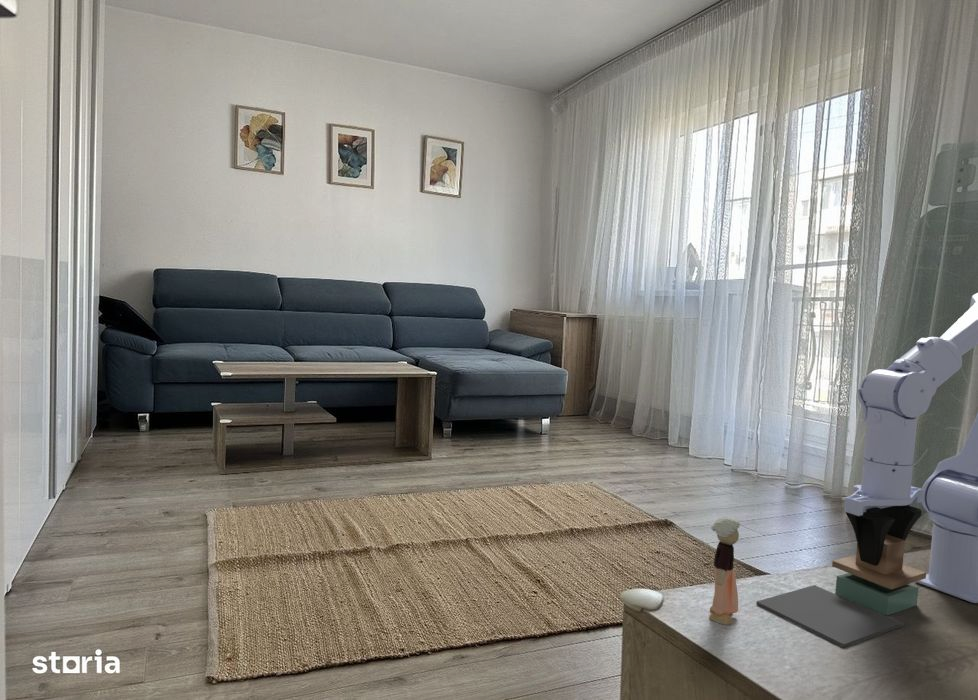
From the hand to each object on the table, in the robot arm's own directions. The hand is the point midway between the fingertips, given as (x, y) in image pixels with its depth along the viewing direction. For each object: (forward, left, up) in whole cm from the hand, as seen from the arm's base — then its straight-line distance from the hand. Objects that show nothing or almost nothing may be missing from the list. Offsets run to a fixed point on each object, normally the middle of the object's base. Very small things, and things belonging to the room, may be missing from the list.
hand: (879, 559), depth 91 cm
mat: (+11, 0, -6) cm, 12 cm away
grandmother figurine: (+23, -6, -6) cm, 25 cm away
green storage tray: (0, 0, -6) cm, 6 cm away
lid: (0, 0, -2) cm, 2 cm away
